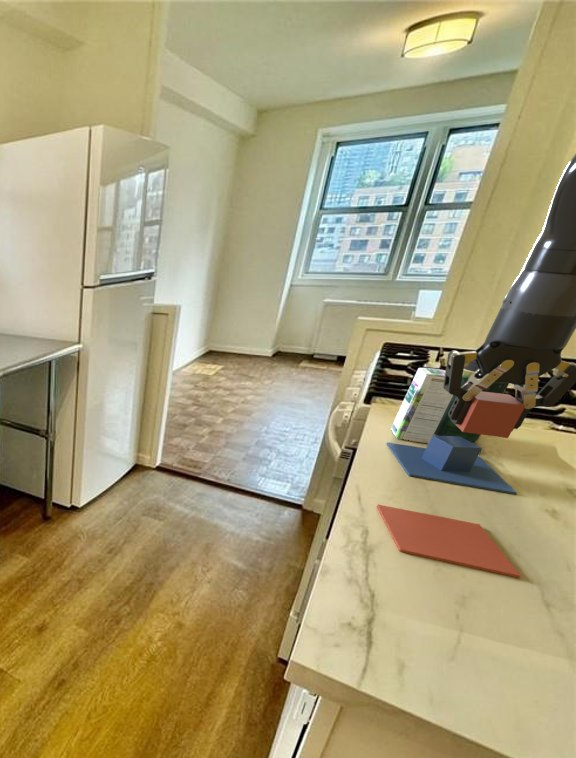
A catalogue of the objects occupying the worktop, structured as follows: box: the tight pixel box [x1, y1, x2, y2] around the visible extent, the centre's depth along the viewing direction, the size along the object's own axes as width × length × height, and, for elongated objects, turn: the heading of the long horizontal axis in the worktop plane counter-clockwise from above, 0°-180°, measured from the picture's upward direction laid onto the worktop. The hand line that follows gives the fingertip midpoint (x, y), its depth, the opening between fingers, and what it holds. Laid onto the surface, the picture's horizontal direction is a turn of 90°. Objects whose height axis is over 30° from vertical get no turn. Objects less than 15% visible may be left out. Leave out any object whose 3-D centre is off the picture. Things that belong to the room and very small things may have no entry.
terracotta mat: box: [376, 504, 522, 579], centre depth 72 cm, size 13×13×1 cm
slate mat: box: [386, 441, 518, 495], centre depth 92 cm, size 15×15×1 cm
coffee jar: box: [433, 360, 510, 444], centre depth 101 cm, size 10×8×19 cm
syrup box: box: [390, 367, 453, 444], centre depth 101 cm, size 6×6×14 cm
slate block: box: [422, 434, 483, 472], centre depth 91 cm, size 5×5×5 cm
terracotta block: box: [455, 391, 525, 439], centre depth 70 cm, size 5×5×5 cm
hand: (480, 425), depth 71 cm, fingers closed on terracotta block, 5 cm apart
